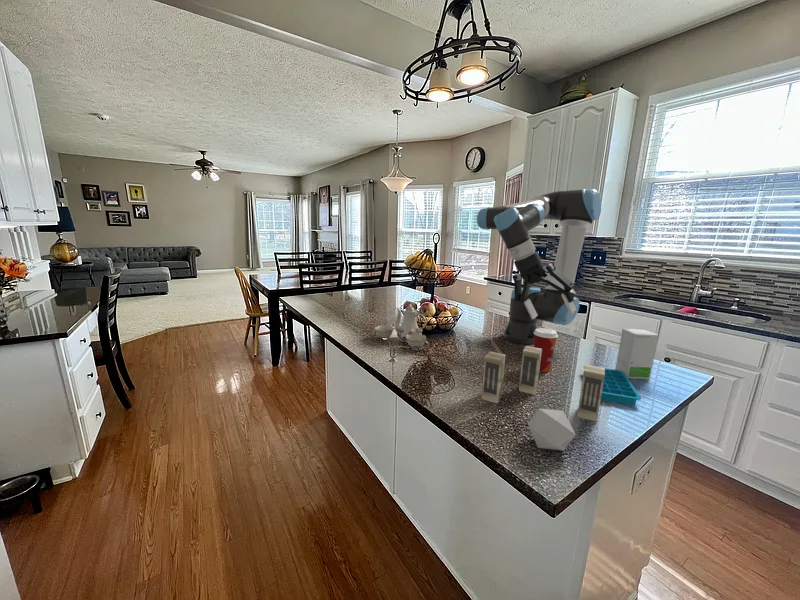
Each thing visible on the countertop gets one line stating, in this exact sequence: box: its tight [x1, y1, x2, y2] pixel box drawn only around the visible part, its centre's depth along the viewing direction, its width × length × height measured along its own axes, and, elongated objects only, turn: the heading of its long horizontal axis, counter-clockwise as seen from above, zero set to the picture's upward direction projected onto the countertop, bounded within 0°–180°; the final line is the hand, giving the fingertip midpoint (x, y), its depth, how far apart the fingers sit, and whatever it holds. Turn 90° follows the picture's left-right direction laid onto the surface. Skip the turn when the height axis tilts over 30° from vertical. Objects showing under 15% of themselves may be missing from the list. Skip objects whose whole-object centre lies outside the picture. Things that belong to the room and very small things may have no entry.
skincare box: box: [614, 328, 659, 380], centre depth 109 cm, size 8×7×16 cm
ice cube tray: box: [583, 365, 642, 406], centre depth 101 cm, size 12×20×3 cm, turn 159°
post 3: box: [576, 364, 605, 423], centre depth 85 cm, size 5×4×13 cm
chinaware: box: [373, 303, 430, 351], centre depth 137 cm, size 28×17×17 cm, turn 54°
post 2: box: [518, 345, 542, 396], centre depth 98 cm, size 5×4×13 cm
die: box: [527, 408, 576, 452], centre depth 73 cm, size 8×9×10 cm
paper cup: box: [533, 327, 559, 373], centre depth 113 cm, size 8×8×14 cm
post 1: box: [481, 351, 506, 404], centre depth 93 cm, size 5×4×13 cm
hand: (553, 314), depth 105 cm, fingers open, 13 cm apart
